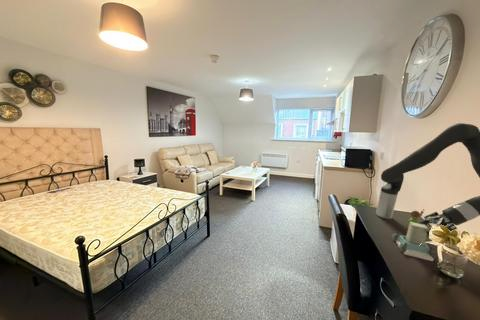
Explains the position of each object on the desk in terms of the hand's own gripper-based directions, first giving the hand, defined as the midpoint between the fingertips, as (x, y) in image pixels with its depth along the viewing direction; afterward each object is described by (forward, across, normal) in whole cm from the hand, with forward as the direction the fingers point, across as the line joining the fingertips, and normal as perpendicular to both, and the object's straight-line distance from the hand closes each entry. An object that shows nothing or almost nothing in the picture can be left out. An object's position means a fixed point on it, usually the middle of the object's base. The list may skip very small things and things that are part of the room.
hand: (422, 229), depth 96 cm
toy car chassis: (+10, 0, +7) cm, 12 cm away
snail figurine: (+1, -32, +16) cm, 36 cm away
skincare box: (+9, 0, +6) cm, 10 cm away
